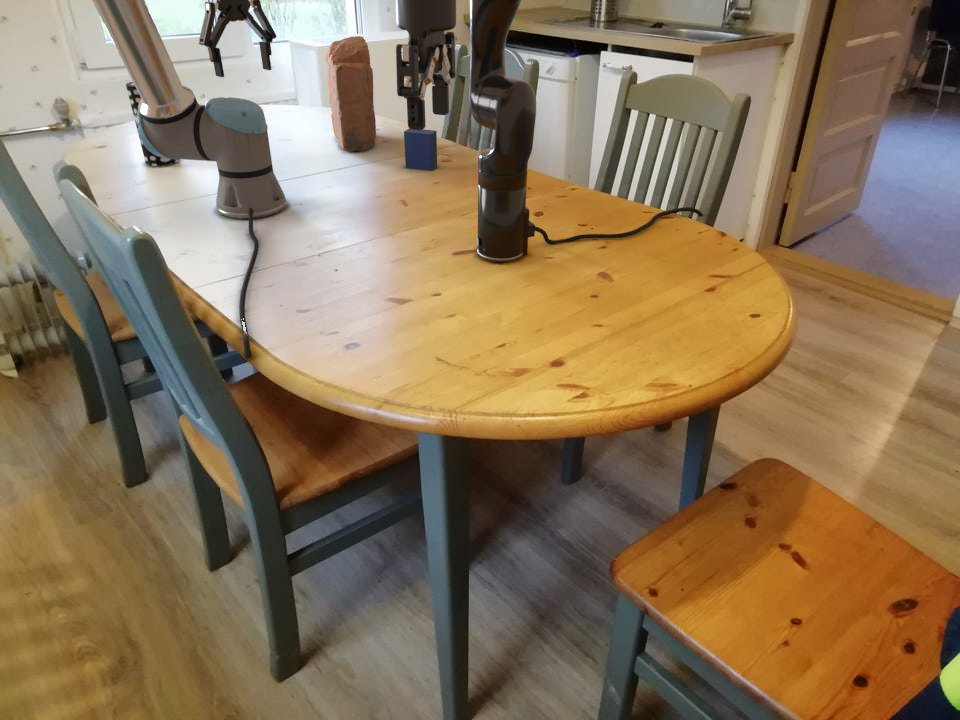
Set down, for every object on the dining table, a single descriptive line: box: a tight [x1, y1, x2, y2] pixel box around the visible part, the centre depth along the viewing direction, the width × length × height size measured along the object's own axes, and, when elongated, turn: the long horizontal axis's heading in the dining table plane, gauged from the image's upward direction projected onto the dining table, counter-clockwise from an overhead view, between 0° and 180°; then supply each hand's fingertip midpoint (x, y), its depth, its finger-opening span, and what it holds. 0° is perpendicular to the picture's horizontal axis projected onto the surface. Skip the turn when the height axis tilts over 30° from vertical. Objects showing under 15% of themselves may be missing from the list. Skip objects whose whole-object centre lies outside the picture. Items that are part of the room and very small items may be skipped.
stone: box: [325, 35, 377, 152], centre depth 197 cm, size 22×11×28 cm, turn 18°
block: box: [403, 127, 438, 172], centre depth 183 cm, size 4×8×10 cm, turn 72°
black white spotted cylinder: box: [125, 81, 179, 167], centre depth 181 cm, size 8×8×20 cm
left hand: (244, 73), depth 175 cm, fingers open, 13 cm apart
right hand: (429, 121), depth 93 cm, fingers open, 8 cm apart
